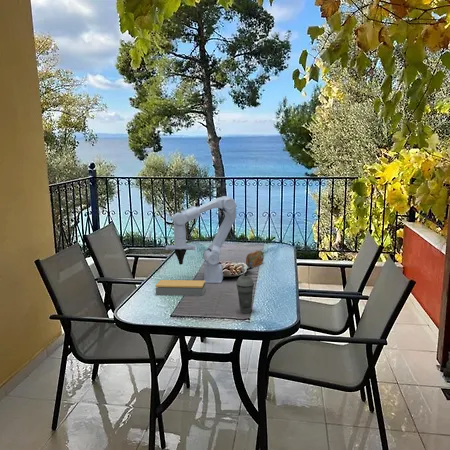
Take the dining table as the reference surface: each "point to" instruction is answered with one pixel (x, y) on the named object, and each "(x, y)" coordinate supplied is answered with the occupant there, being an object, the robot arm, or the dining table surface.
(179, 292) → the cable duct
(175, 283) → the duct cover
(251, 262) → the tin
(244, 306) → the beverage cup
